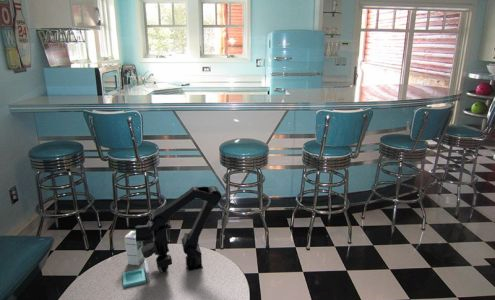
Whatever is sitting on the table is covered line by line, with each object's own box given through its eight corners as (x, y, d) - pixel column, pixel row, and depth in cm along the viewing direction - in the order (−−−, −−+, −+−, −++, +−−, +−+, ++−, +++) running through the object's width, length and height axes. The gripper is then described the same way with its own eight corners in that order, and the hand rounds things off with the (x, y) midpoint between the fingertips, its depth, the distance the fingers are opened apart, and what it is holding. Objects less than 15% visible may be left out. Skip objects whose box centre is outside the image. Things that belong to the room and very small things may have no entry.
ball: (168, 266, 159) (167, 257, 157) (169, 272, 154) (169, 263, 153) (156, 268, 157) (156, 259, 156) (158, 275, 153) (157, 265, 151)
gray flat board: (147, 267, 158) (146, 259, 157) (149, 281, 149) (149, 273, 147) (144, 267, 158) (144, 259, 157) (146, 281, 148) (146, 273, 147)
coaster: (144, 270, 156) (144, 268, 155) (146, 282, 148) (145, 279, 147) (123, 275, 153) (122, 272, 152) (123, 287, 144) (123, 284, 144)
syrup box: (138, 265, 159) (136, 237, 156) (127, 264, 161) (124, 236, 157) (144, 258, 165) (142, 231, 161) (133, 257, 166) (130, 230, 162)
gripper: (140, 231, 157) (142, 261, 161) (143, 252, 140) (146, 285, 144) (165, 226, 161) (167, 256, 165) (171, 247, 144) (173, 279, 148)
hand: (163, 268), depth 155 cm, fingers closed on ball, 5 cm apart
